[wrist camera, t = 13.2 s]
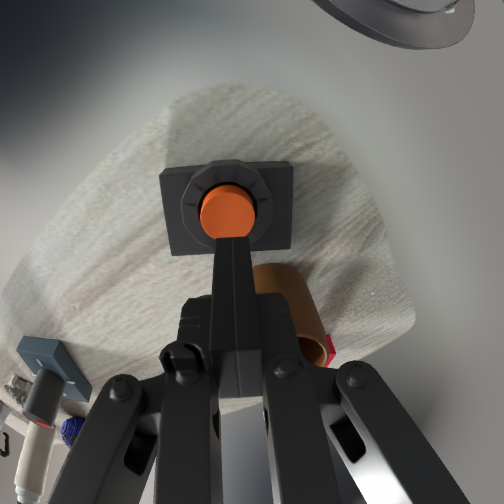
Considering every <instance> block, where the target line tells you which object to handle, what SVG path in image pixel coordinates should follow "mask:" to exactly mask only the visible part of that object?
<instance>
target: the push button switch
mask: <svg viewBox="0 0 504 504" xmlns="http://www.w3.org/2000/svg"><path fill="white" fill-rule="evenodd" d="M159 180H160V188H161V195H162V202H163V208H164V214H165V221H166V227H167V232H168V238H169V244H170V249H171V254H172V256H185V255H201V254H214V253H215V241H216V239H214V238H212V237H210V236H209V235H208V234H207V233H206V232H205V230H204V229H203V227H202V224H201V220H200V215H201V209H202V205H203V201H204V199H205V197H206V195H207V194H208V193H209V192H210V191H211V190H212V189H214V188H216V187H218V186H221V185H235V186H238V187H240V188H242V189H243V190H245V191H246V192H247V193H248V195H249V196H250V198H251V200H252V204H253V208H254V212H255V221H254V225H253V227H252V229H251V231H250V232H249V233H248V234H247V235H246V236H248V238H249V246H250V251H264V250H280V249H290V248H291V226H292V199H293V167H292V166H291V165H290V163H289V162H288V161H272V162H242V161H240V160H219V161H212V162H210V163H209V164H207V165H198V166H187V167H177V168H168V169H164V170H163V172H162V173H161V174H160V175H159Z"/></svg>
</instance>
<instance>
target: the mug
mask: <svg viewBox="0 0 504 504" xmlns="http://www.w3.org/2000/svg"><path fill="white" fill-rule="evenodd" d="M253 276H254V283H255V291H256V294H263V293H277V292H280V293H281V294H282V295H283V296H284V297H285V298H286V299H287V300H288V303H289V307H290V312H291V315H292V318H293V322H294V326H295V330H296V334H297V338H298V342H299V346H300V350H301V352H302V355H303V356H304V357H305V358H306V360H308V361H309V362H310V363H312V364H314V365H317V366H320V367H325V366H326V364H327V362H328V359H329V355H330V350H329V346H328V342H327V338H326V334H325V331H324V328H323V325H322V322H321V320H320V317H319V314H318V312H317V309H316V306H315V304H314V301H313V299H312V297H311V294H310V292H309V289H308V287H307V284H306V282H305V280H304V279H303V277H302V276H301V275H300V274H299V273H298V272H297V271H296V270H295V269H293V268H291V267H289V266H287V265H283V264H278V263H268V264H262V265H259V266H256V267H254V268H253ZM211 296H212V295H203V296H200V297H197V298H208V297H211Z"/></svg>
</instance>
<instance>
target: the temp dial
mask: <svg viewBox="0 0 504 504" xmlns="http://www.w3.org/2000/svg"><path fill="white" fill-rule="evenodd" d="M65 388H66V384H65V382H64V381H63V380H62V379H61V378H60V377H59V376H58V375H56V374H55V373H53V372H51V371H49V370H46V369H40V370H39V371H38V373H37V375H36V378H35V380H34V383H33V385H32V387H31V390H30V392H29V395H28V398H27V400H26V403H25V406H24V408H23V411H22V413H23V415H24V416H25V417H26V418H27V419H29V420H30V421H31V422H33V423H34V424H36V425H38V426H40V427H42V428H45V429H48V430H52V429H53V426H54V422H55V419H56V416H57V412H58V409H59V406H60V403H61V400H62V397H63V394H64V391H65Z"/></svg>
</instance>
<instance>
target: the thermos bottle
mask: <svg viewBox="0 0 504 504" xmlns="http://www.w3.org/2000/svg"><path fill="white" fill-rule="evenodd" d="M56 433H57V428H56V427H55V426H53V429H52V430H48V429H45V428H42V427H40V426H38V425H36V424H34V423H33V422H31V421H30V424H29V427H28V430H27V433H26V437H25V440H24V445H23V449H22V452H21V455H20V459H19V463H18V467H17V472H16V477H15V481H14V483H15V484H16V493H17V494H18V501H17V503H18V504H36V503H39V502H40V497H43V494H44V488H45V482H46V476H47V472H48V466H49V462H50V456H51V452H52V449H53V445H54V441H55V437H56Z"/></svg>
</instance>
